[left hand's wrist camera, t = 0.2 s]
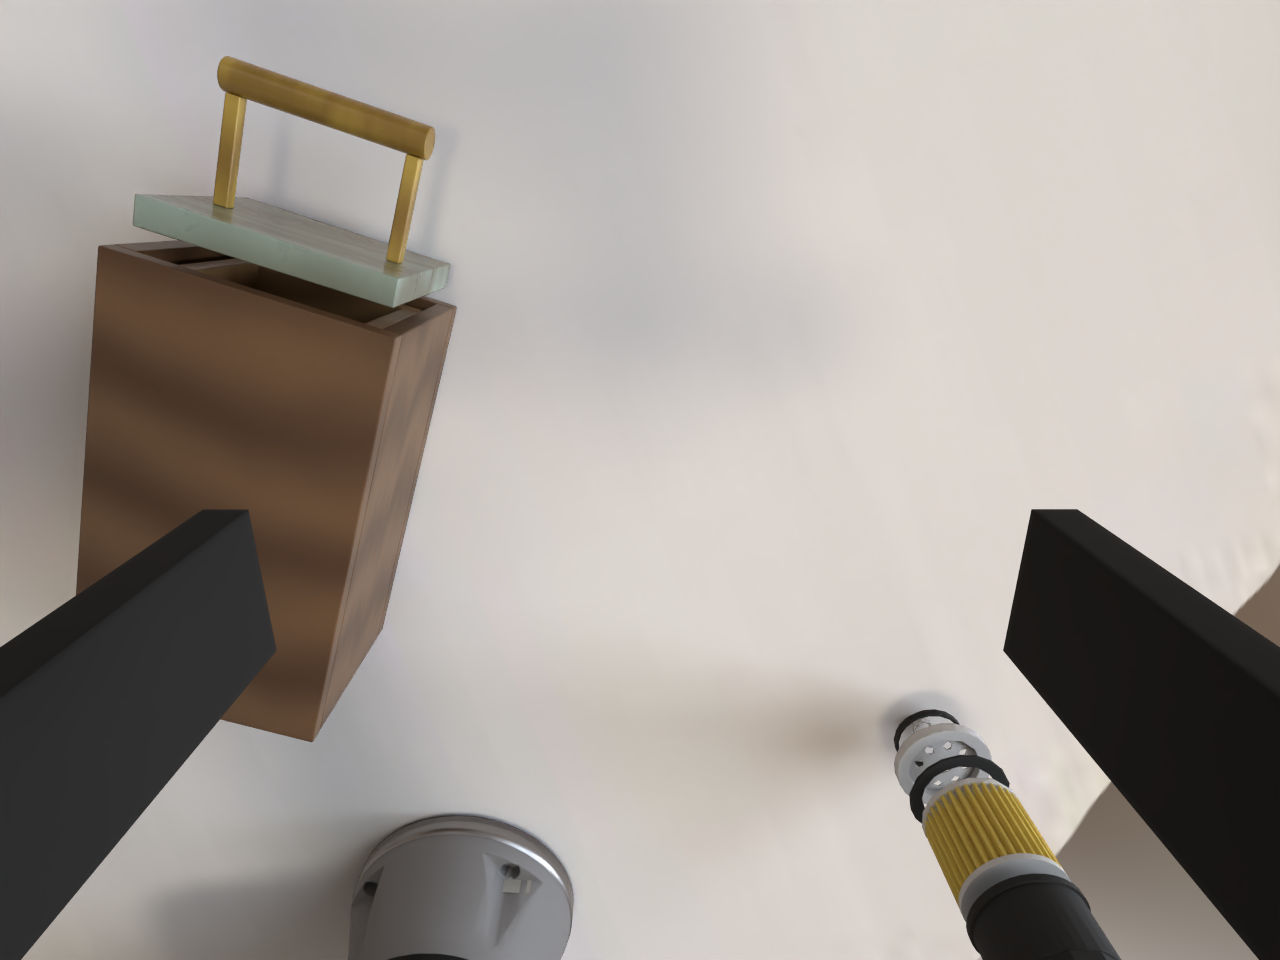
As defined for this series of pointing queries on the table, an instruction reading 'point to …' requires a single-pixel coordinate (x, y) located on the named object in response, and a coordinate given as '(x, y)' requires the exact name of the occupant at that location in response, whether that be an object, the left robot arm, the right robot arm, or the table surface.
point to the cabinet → (259, 452)
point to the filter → (993, 850)
